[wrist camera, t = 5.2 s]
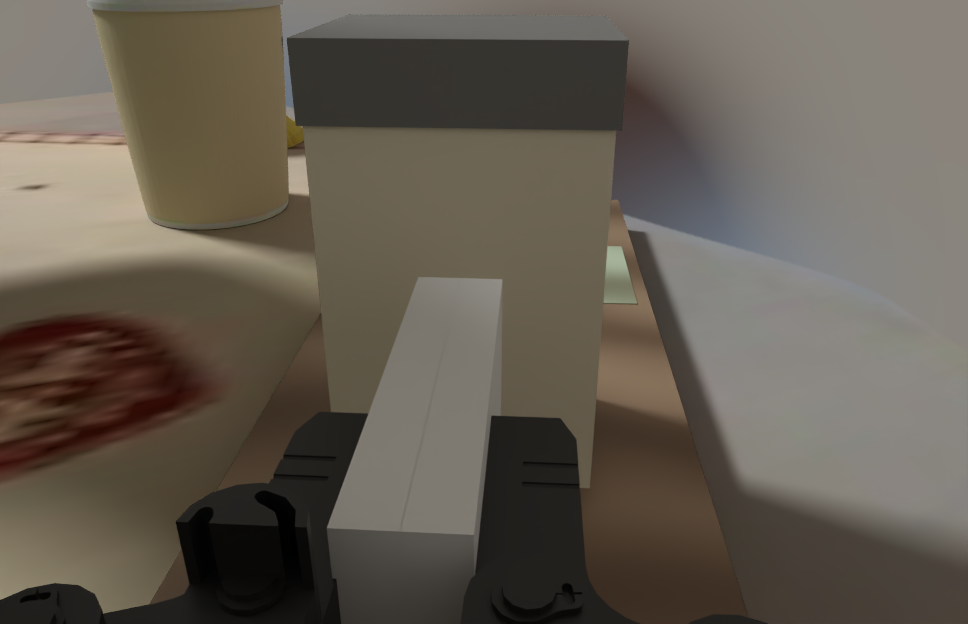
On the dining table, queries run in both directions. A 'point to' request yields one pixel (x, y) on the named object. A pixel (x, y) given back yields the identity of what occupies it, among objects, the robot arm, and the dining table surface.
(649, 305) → the fader track
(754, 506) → the dining table surface
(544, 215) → the fader knob
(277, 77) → the coffee cup
